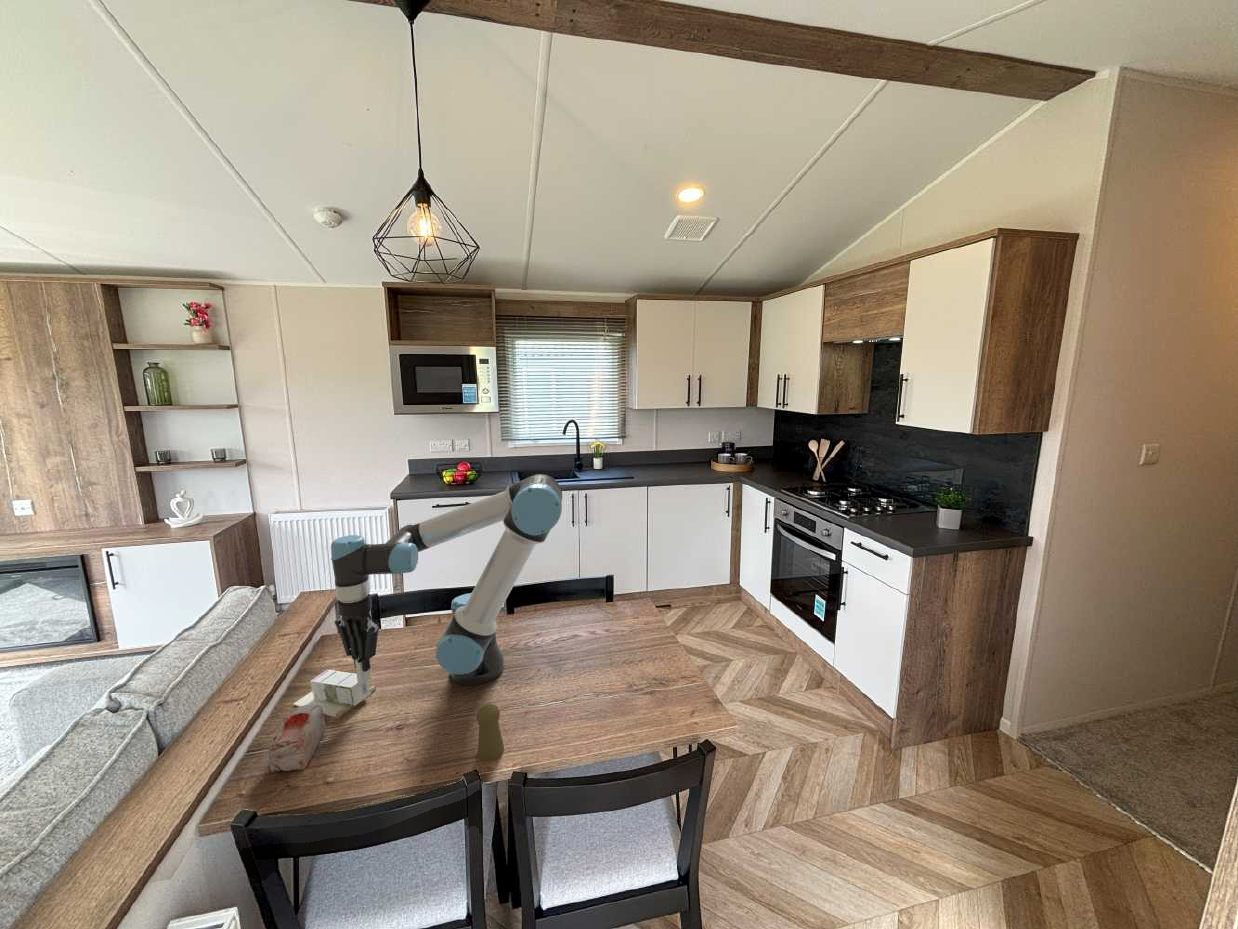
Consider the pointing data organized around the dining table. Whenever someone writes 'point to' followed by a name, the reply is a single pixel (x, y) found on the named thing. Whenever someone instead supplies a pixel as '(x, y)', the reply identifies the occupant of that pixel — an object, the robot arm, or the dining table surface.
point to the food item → (297, 739)
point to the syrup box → (339, 688)
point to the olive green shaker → (489, 733)
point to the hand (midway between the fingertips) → (364, 680)
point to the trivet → (327, 705)
